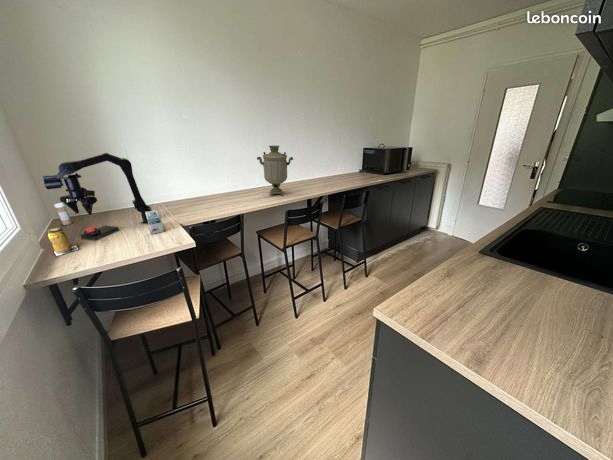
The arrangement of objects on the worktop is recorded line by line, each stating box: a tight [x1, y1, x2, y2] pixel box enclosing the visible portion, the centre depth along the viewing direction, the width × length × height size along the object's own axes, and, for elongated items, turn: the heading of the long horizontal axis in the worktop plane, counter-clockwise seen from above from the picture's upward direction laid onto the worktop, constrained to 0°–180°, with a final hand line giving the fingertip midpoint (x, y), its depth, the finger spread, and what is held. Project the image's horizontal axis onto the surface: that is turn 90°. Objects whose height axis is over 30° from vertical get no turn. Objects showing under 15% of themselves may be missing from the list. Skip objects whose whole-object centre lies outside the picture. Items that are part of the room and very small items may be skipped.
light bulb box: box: [145, 209, 165, 235], centre depth 146 cm, size 11×7×11 cm, turn 35°
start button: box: [85, 226, 97, 233], centre depth 138 cm, size 4×4×2 cm
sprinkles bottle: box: [53, 202, 73, 226], centre depth 155 cm, size 5×5×13 cm
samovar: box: [256, 144, 294, 197], centre depth 213 cm, size 30×26×40 cm
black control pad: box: [79, 225, 120, 241], centre depth 142 cm, size 10×14×4 cm
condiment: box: [47, 227, 79, 257], centre depth 123 cm, size 7×8×12 cm
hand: (84, 214), depth 140 cm, fingers open, 9 cm apart
